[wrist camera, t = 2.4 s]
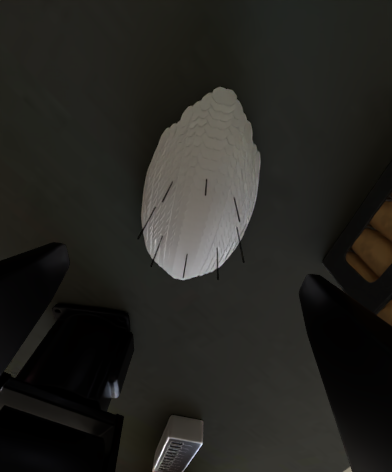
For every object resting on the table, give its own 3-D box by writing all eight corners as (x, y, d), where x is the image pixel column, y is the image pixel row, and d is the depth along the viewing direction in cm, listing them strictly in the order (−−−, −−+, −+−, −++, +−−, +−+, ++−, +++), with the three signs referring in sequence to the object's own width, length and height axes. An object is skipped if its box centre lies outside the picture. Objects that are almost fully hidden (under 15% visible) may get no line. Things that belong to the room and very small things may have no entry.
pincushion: (218, 282, 17) (220, 353, 12) (139, 264, 17) (109, 330, 12) (285, 105, 11) (342, 107, 6) (164, 71, 11) (124, 45, 6)
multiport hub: (204, 420, 29) (203, 443, 27) (181, 457, 37) (179, 477, 35) (171, 414, 29) (167, 437, 27) (154, 452, 36) (151, 472, 34)
